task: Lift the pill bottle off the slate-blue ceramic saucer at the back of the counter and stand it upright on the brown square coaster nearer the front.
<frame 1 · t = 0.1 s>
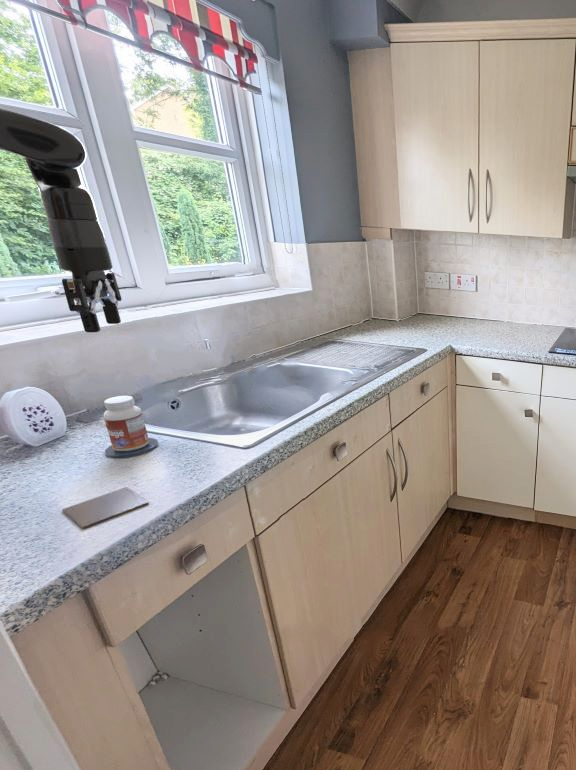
hand: (104, 327, 93), 27 cm above the table, tool pointing down, fingers open, 8 cm apart
plate: (132, 448, 100), on the table
pill bottle: (132, 446, 100), resting on plate
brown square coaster: (106, 507, 80), on the table
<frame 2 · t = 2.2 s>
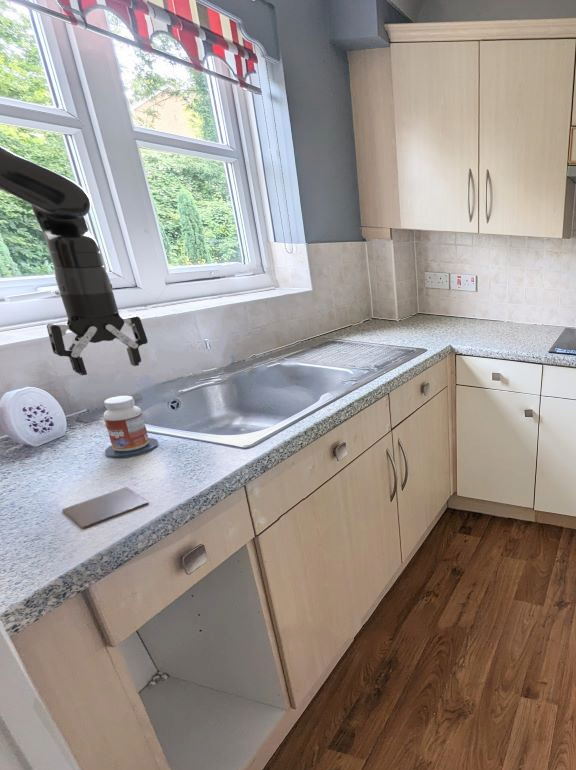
hand: (109, 369, 94), 18 cm above the table, tool pointing down, fingers open, 8 cm apart
nothing on the table moved.
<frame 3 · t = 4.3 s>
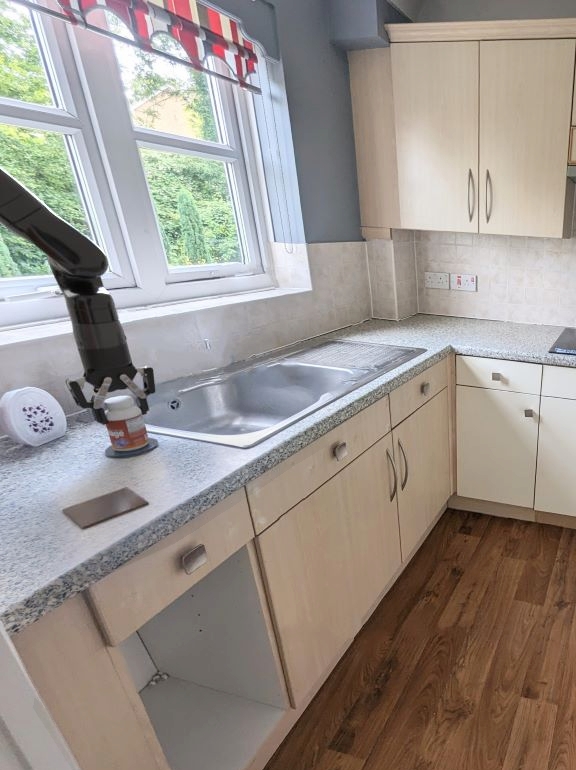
hand: (123, 418, 98), 7 cm above the table, tool pointing down, fingers closed on pill bottle, 6 cm apart
pill bottle: (132, 446, 100), resting on plate, touching gripper
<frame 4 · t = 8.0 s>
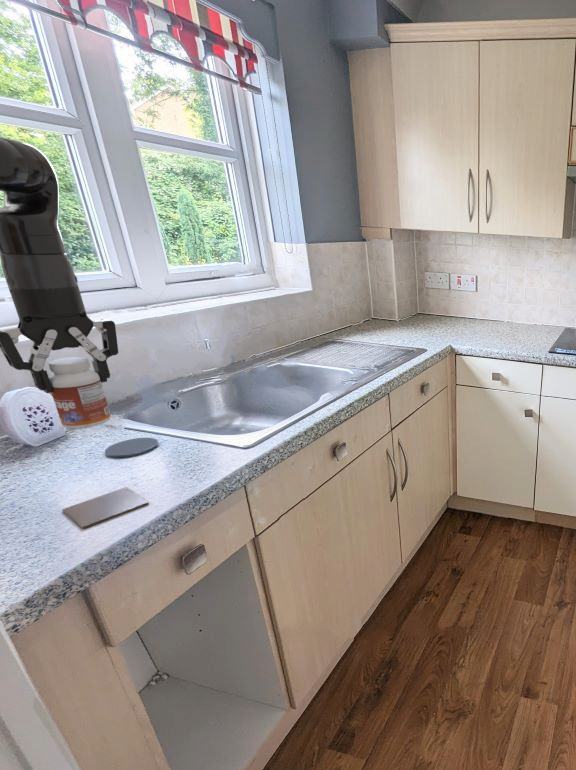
hand: (76, 386, 75), 21 cm above the table, tool pointing down, fingers closed on pill bottle, 6 cm apart
pill bottle: (88, 423, 78), point 15 cm above the table, touching gripper
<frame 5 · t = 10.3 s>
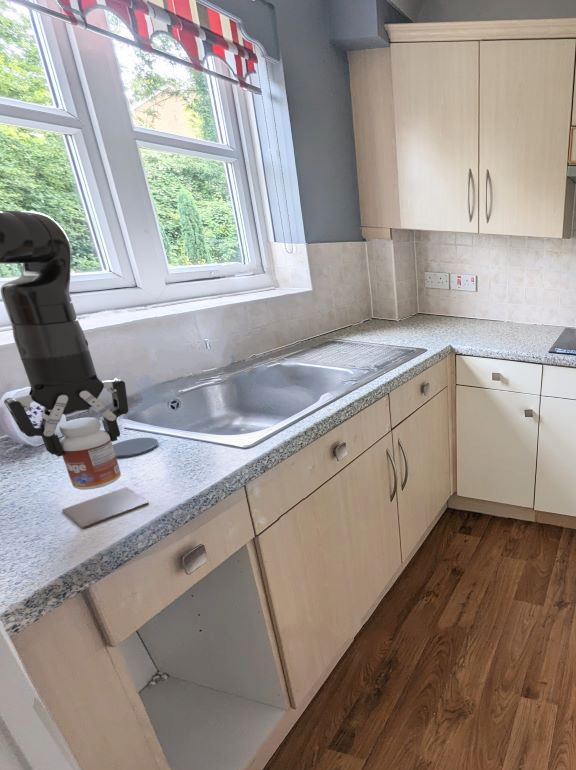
hand: (86, 446, 76), 12 cm above the table, tool pointing down, fingers closed on pill bottle, 6 cm apart
pill bottle: (98, 482, 78), point 5 cm above the table, touching gripper
when the fingers open (7 cm above the table, at t = 12.1 s): pill bottle stays where it is, resting on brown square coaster.
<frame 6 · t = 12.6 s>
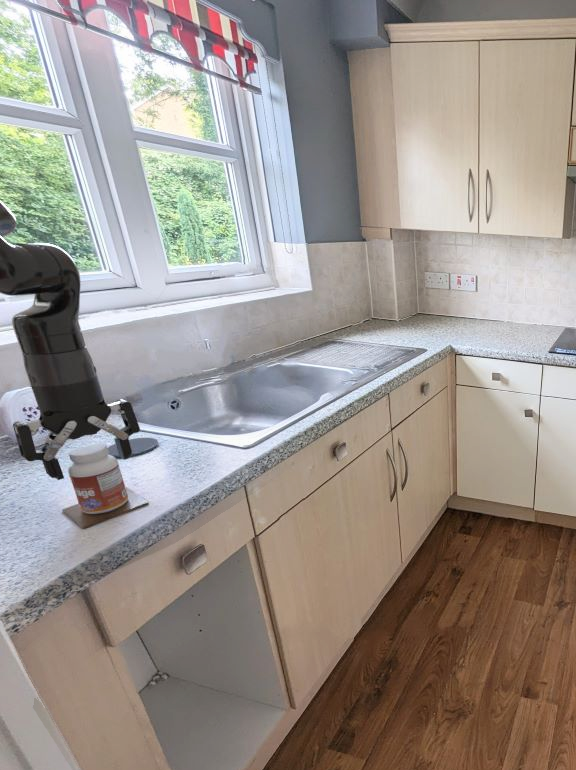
hand: (93, 467, 77), 8 cm above the table, tool pointing down, fingers open, 8 cm apart
pill bottle: (106, 506, 80), resting on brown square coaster
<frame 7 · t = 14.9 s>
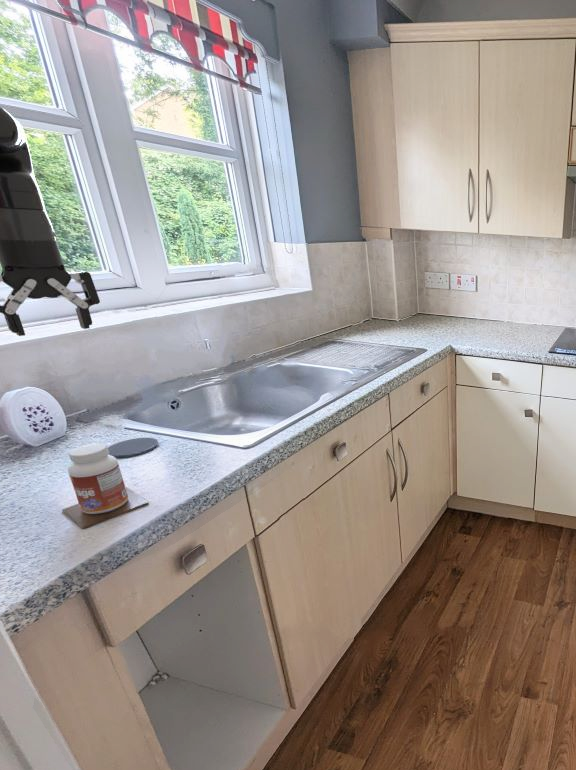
hand: (54, 331, 82), 28 cm above the table, tool pointing down, fingers open, 8 cm apart
nothing on the table moved.
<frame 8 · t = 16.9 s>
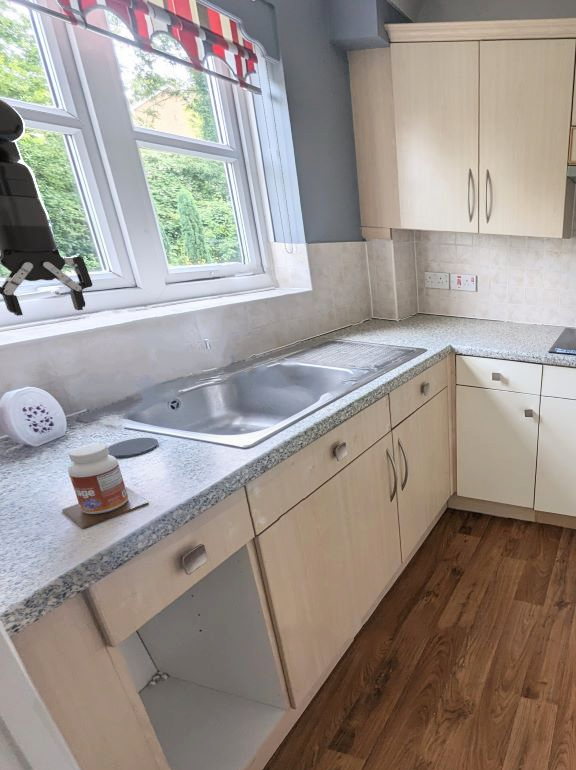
hand: (49, 312, 88), 30 cm above the table, tool pointing down, fingers open, 8 cm apart
nothing on the table moved.
at the end: pill bottle inside the target area on the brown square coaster (0.0 cm from its centre), point 0.2 cm above the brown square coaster's base; pill bottle tilted 0°; pill bottle touching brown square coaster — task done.
